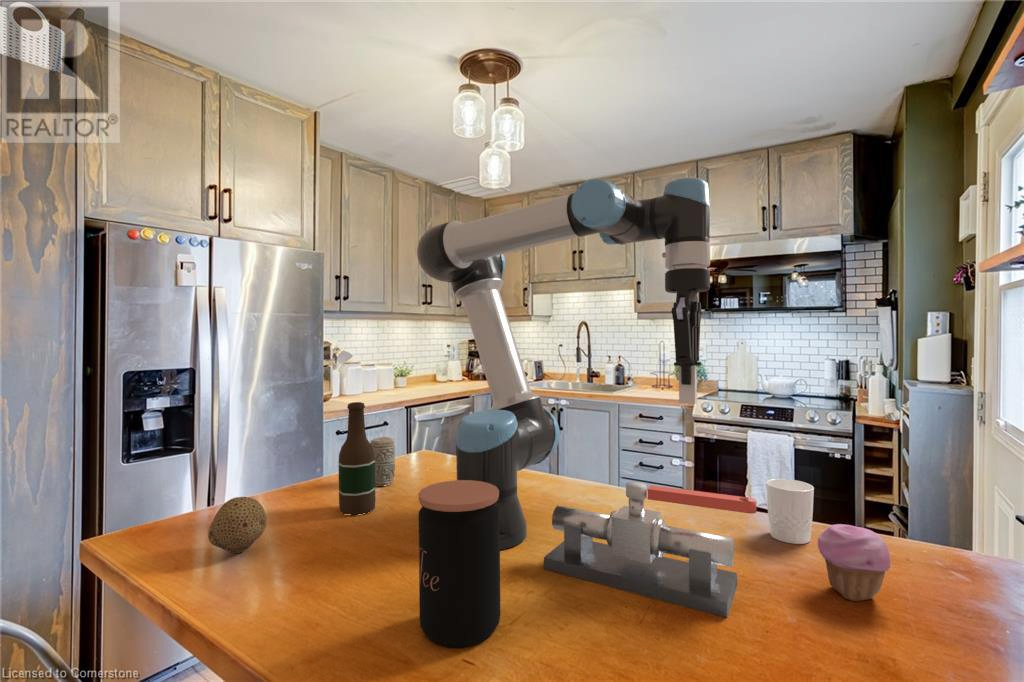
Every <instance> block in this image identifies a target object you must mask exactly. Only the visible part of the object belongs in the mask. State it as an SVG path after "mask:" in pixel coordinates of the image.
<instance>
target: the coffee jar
mask: <svg viewBox="0 0 1024 682" xmlns="http://www.w3.org/2000/svg"><path fill="white" fill-rule="evenodd" d="M498 497H499V490H498V488H497V487H496V486H494V485H492V484H490V483H486V482H482V481H473V480H457V479H455V480H447V481H441V482H440V481H439V482H436V483H433V484H429V485H427V486H425V487H423V488H422V489H420V491H419V492H418V501H419V502H418V503H419V504H420V505H421V507H420V508H419V511H418V514H417V515H418V580H419V581H418V583H419V584H418V587H419V591H418V592H419V593H418V594H419V597H418V599H419V627H420V629H421V631H422V632H423V633H424V634H425V636H426V637H427V639H428V640H429V641H430V642H431V643H433V644H435V645H436V646H439V647H443V648H444V647H445V648H447V649H462V648H463V649H464V648H470V647H474V646H476V645H479V644H482V643H483V642H484V641H486V640H488V639H489V638H490V637H492V634H493V633H494V632H495V630H496V629H497V627H498V626H499V624H500V621H501V620H500V619H501V550H500V513H499V507H498V506H497V504H496V501H497V500H498Z"/></svg>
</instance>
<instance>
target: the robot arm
mask: <svg viewBox="0 0 1024 682" xmlns="http://www.w3.org/2000/svg"><path fill="white" fill-rule="evenodd" d="M662 194H663V195H661V196H657V197H654V198H652V197H651V198H645V199H636V198H634V197H633V196H632V195H629V194H628V193H626V192H625V191H624V190H622V189H621V188H620V187H619V186H618V185H616V184H614V183H613V182H612V181H611V182H610V181H607V180H604V179H602V178H590V179H588V180H586V181H584V182H583V183H581V184H580V185H579V186H578V187H577V188H576V189H575V191H574V192H572V193H570V194H565V195H563V196H559V197H555V198H551V199H548V200H545V201H541V202H537V203H533V204H528V205H526V206H522V207H519V208H515V209H511V210H508V211H504V212H500V213H497V214H494V215H489V216H486V217H482V218H478V219H475V220H470V221H468V222H464V223H463V222H462V221H460V220H452V221H447V222H444V223H441V224H438V225H434V226H433V227H431V228H429V229H427V231H426V232H424V233H423V234H422V236H421V237H420V239H419V241H418V243H417V244H418V245H417V247H416V248H417V249H416V256H417V260H418V265H419V266H420V268H421V269H422V270H423V272H424V273H425V274H426V275H427V276H429V277H430V278H432V279H434V280H436V281H440V282H444V283H450V285H451V288H452V292H453V295H454V297H455V299H457V300H458V301H460V302H462V303H463V305H464V309H465V311H466V314H467V318H468V322H469V325H470V328H471V332H472V335H473V338H474V341H475V346H476V348H477V352H478V354H479V359H480V362H481V364H482V365H481V366H482V368H483V369H482V370H483V372H484V375H485V378H486V382H487V386H488V388H489V391H490V392H489V393H490V395H491V400H492V402H493V403H492V406H491V408H490V409H487V410H484V411H475V412H472V413H470V414H466V415H465V416H463V417H462V418H461V419H460V420H459V421H458V422H457V425H456V437H455V446H456V448H455V449H456V452H455V454H456V457H455V458H456V480H473V481H482V482H486V483H490V484H492V485H494V486H496V487H497V488H498V490H499V497H498V500H497V501H496V504H497V506H498V507H499V513H500V551H501V550H505V549H510V548H513V547H516V546H517V545H519V544H521V543H522V542H524V541H525V539H527V534H528V533H527V530H528V528H527V520H526V518H525V516H524V512H523V508H522V505H521V503H520V498H519V497H518V472H519V471H522V470H524V469H526V468H529V467H531V466H535V465H537V464H541V463H542V462H544V460H546V459H547V458H549V457H550V456H552V455H553V453H554V452H555V451H556V449H557V447H558V445H559V442H560V436H561V435H560V433H561V432H560V426H559V422H558V420H557V419H556V417H555V415H553V413H552V412H550V411H549V410H548V409H546V408H544V406H543V402H542V400H541V397H540V395H538V394H537V393H534V392H533V391H532V390H531V388H530V385H529V382H528V379H527V374H526V372H525V368H524V366H523V363H522V360H521V356H520V353H519V349H518V347H517V343H516V340H515V337H514V336H515V335H514V333H513V330H512V327H511V324H510V321H509V317H508V314H507V311H506V308H505V305H504V302H503V297H502V295H501V293H500V292H501V290H502V288H503V286H504V283H505V282H504V279H503V277H504V275H505V274H504V270H506V258H505V255H506V254H510V253H514V252H518V251H522V250H528V249H531V248H533V249H534V248H536V247H540V246H545V245H550V244H555V243H559V242H562V241H567V240H568V241H569V240H571V239H577V238H581V237H582V238H583V237H587V236H590V235H596V234H598V235H599V237H600V239H602V242H603V243H604V244H605V245H621V246H623V245H625V244H632V243H639V242H647V241H654V240H663V239H664V249H665V252H662V254H661V257H662V258H663V259H664V262H665V263H664V268H666V269H667V271H665V273H664V290H665V292H666V293H669V294H676V299H675V302H673V307H671V314H672V324H673V334H674V336H673V337H674V349H675V350H674V352H675V354H674V356H675V362H673V366H674V367H678V404H690V405H691V404H692V405H693V404H694V405H695V404H697V402H698V399H697V398H698V397H697V396H698V393H697V391H698V384H697V383H698V382H697V381H698V380H697V379H698V378H697V377H698V375H697V373H698V372H697V371H698V369H697V366H698V367H699V366H702V361H699V360H700V342H701V339H700V338H701V336H700V335H701V321H702V315H703V312H702V304H701V302H699V299H698V293H704V292H709V290H710V288H711V271H710V270H709V269H708V267H710V265H711V242H710V239H711V238H710V224H711V223H710V220H711V219H710V217H711V212H710V211H711V205H710V195H709V194H710V192H709V184H708V182H706V181H705V180H704V179H702V178H699V177H683V178H677V179H675V180H672V181H668V182H667V183H666V184H665V186H664V192H663V193H662Z"/></svg>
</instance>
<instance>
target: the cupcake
mask: <svg viewBox="0 0 1024 682" xmlns="http://www.w3.org/2000/svg"><path fill="white" fill-rule="evenodd" d="M817 549H818V550H819V553H820V555H822V557H823V558H824V560H825V566H826V567H825V568H826V572H827V579H828V582H829V585H830V586H831V587H832V588H833V589H834V590H835V591H836V592H838V593H839V594H841V596H842V597H843V598H845V599H846V600H849V601H851V602H859V601H865V600H870V599H873V598H874V597H875V596H876V595H877V594H878V593H879V591H880V590H881V587H882V585H883V581H884V579H885V574H886V571H888V570H889V569H890V568H891V556H890V550H889V548H888V546H887V544H886V542H885V540H884V539H883V538H882V537H881V536H880V535H879V534H878V533H876V532H874V531H873V530H871V529H868V528H865V527H859V526H855V525H852V524H842V523H840V524H839V523H837V524H832V525H829V527H827V528H825V530H824V531H823V532H822V533H820V535H818V538H817Z"/></svg>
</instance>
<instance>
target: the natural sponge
mask: <svg viewBox="0 0 1024 682" xmlns="http://www.w3.org/2000/svg"><path fill="white" fill-rule="evenodd" d="M267 520H268V519H267V515H266V510H265V509H264V507H263V506H262V503H260V502H259V501H258V500H256V499H255V498H253V497H249V496H236V497H233V498H230V499H229V500H227V501H226V502H224V504H222V505H221V507H220V508H219V509H218V510H217V512H216V514H215V516H214V518H213V520H212V521H211V524H210V526H209V528H208V531H207V538H208V542H209V543H210V544H211V545H212V546H214V547H216V548H219V549H222V550H224V551H226V552H228V553H232V554H241V553H243V552H245V551H247V550H248V549H249V548H250V547H251V546H252V545H253V544H254V543H255V542H256V541H257V540H258V539H259V538H260V537H261V536H262V535H263V533H264V531H265V529H266V527H267V523H268V522H267ZM240 552H241V553H240Z"/></svg>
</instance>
